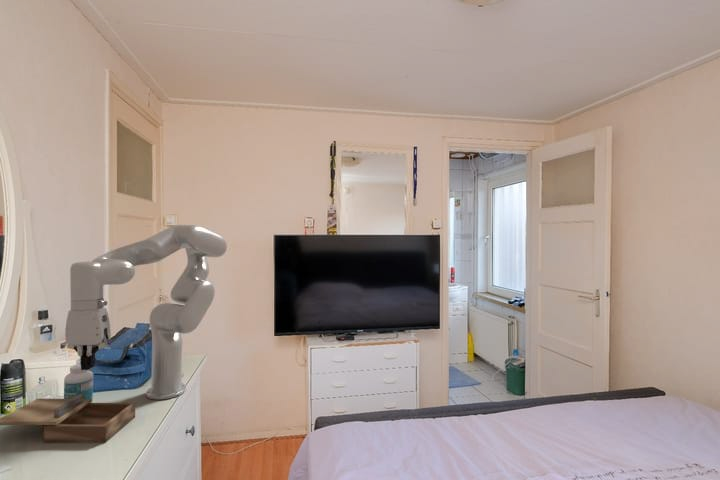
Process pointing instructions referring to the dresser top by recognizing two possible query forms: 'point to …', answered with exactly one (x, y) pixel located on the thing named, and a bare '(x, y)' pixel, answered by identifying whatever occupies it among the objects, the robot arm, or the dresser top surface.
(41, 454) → the dresser top surface
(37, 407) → the lid
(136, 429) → the dresser top surface
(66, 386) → the pill bottle
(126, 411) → the box
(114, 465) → the dresser top surface
